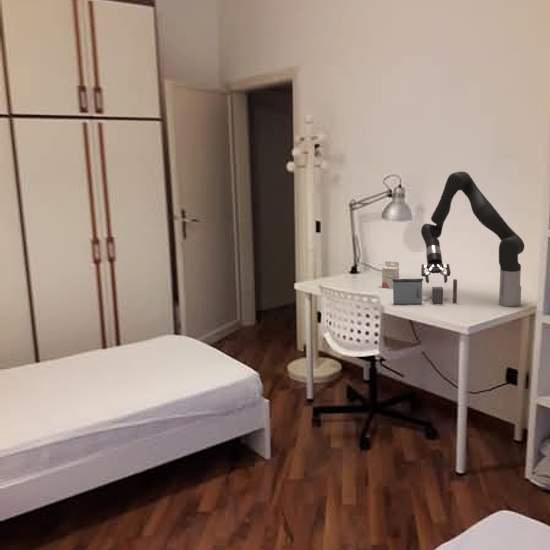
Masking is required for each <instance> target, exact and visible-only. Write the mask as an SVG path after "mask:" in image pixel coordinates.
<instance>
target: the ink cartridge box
mask: <svg viewBox="0 0 550 550" xmlns="http://www.w3.org/2000/svg"><path fill="white" fill-rule="evenodd" d="M399 265H400V264H399V262H398V261H385V266H383V267H381V276H382V277H381V288H383V289H384V288H385V289H391V288H393V281H392V279H400V267H399Z"/></svg>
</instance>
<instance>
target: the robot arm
mask: <svg viewBox="0 0 550 550" xmlns="http://www.w3.org/2000/svg"><path fill="white" fill-rule="evenodd" d="M458 191H461V192H462V193H463V194H464V195H465V196H466V198H468V202H469V203H470V208H471V210H472V213H473V214H474V215H473V216H475V217H476V219H477V220H478V221H479V222H480V224H481V225H483V226H484V227H485V228H487V229H488V230H489V231H491V232H493V233H494V234H495V235H496V236H497V237H498V239H499V240H500V243H499V246H498V264H499V272H500V274H499V293H498V295H499V297H498V298H499V299H498V304H499V305H500V306H503V307H517V306H521V301H522V300H521V299H522V286H521V273H522V272H521V271H522V265H521V263H519V255H520V254H521V253H524V250H525V243H524V240H523V239H522V238H521V237H520V236H519V234H517V233H516V232H515V231H514V229H512V228H511V227H510V226H509V225H508V223H507V222H506V221H505V219H503V217H502V216H501V215H500V214H499V212H498V210H497V209H496V208H495V207H494V206H493V204H492V203H491V202H490V201H489V200H488V199H487V197H486V196H485V195H484V194H483V192H482V191H481V190H480V189H479V187H478V186H477V185H476V183H475V181H474V180H473V178H472V177H471V174H469V173H468V172H466V171H456V172H453V173H451V174H449V175H448V177H447V179H446V182H445V185H444V188H443V191H442V194H441V196H440V199H439V201H438V204H437V206H436V207H435V209H434V212H433V213H432V215H431V218H430V221H431V222H432V223H433V224H431V223H424V224H423V225H422V226H421V230H420V232H421V237H422V238H423V239H422V240H423V241H424V243H425V249H426V252H425V256H426V265H425V264H421V270H420V271H421V274H420V275H421V277H425V279H424V280H425V282H426V283H427V284H429V283H430V275H431V274H440V275H442V276H443V282H444V284H446V283H447V282H448V281H449V279H448V277H450V276H451V268H450V264H449V263H446V264H443V257H442V250H441V245H440V240H439V238H440V237H441V235H442V231H443V226H444V223H445V221H446V219H447V218H448V216H449V214H450V210H451V206H452V202H453V199H454V197H455V196H456V194H457V193H458ZM426 269H427V271H426V272H425V270H426ZM445 270H446V271H445Z"/></svg>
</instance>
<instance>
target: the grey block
mask: <svg viewBox="0 0 550 550" xmlns="http://www.w3.org/2000/svg"><path fill="white" fill-rule="evenodd" d="M410 304H411V305H412V304H413V305H416V304H417V305H419V304H420V305H421V304H423V281H422V282H394V305H410Z"/></svg>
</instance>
